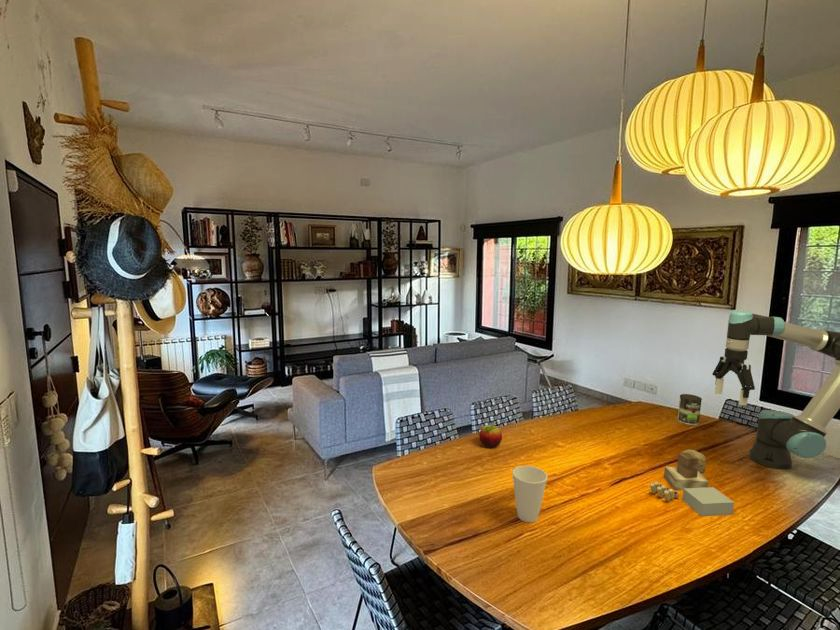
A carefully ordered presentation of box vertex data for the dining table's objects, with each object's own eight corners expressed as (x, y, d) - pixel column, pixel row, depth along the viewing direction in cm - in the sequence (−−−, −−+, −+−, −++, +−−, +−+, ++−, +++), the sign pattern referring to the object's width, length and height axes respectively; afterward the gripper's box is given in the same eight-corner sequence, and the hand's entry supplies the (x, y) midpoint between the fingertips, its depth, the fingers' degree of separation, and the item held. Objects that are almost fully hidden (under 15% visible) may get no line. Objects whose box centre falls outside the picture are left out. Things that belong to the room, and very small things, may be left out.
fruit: (505, 443, 213) (505, 424, 211) (496, 452, 204) (497, 431, 202) (484, 438, 218) (485, 419, 217) (475, 446, 209) (475, 426, 208)
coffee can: (702, 426, 237) (705, 400, 234) (681, 424, 238) (684, 399, 236) (694, 418, 247) (696, 394, 244) (674, 417, 248) (676, 393, 246)
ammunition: (667, 492, 163) (680, 487, 167) (649, 483, 170) (662, 478, 174) (666, 504, 164) (679, 499, 168) (648, 494, 171) (661, 489, 174)
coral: (710, 472, 188) (712, 455, 187) (693, 475, 185) (695, 458, 184) (691, 462, 196) (693, 446, 195) (674, 464, 194) (676, 448, 193)
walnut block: (688, 471, 179) (689, 452, 178) (697, 477, 174) (698, 458, 173) (676, 471, 179) (678, 453, 178) (685, 478, 174) (687, 458, 173)
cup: (538, 530, 148) (541, 486, 145) (505, 519, 154) (507, 476, 151) (549, 513, 158) (551, 471, 155) (517, 502, 164) (519, 462, 161)
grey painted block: (711, 499, 168) (713, 487, 167) (732, 515, 158) (734, 502, 158) (682, 500, 167) (683, 488, 166) (701, 516, 157) (702, 503, 156)
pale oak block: (694, 480, 182) (695, 468, 181) (706, 493, 172) (708, 481, 172) (663, 477, 184) (664, 466, 183) (674, 490, 174) (675, 479, 173)
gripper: (706, 342, 191) (701, 389, 194) (751, 356, 166) (744, 410, 170) (723, 342, 191) (717, 389, 195) (770, 356, 167) (763, 410, 170)
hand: (730, 399), depth 182 cm, fingers open, 13 cm apart
